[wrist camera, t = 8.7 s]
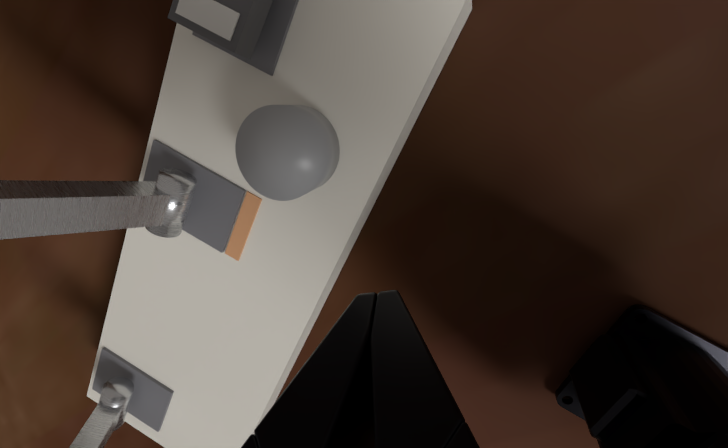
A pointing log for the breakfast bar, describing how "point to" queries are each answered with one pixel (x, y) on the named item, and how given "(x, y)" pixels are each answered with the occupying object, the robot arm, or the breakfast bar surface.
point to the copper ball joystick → (96, 205)
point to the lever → (106, 414)
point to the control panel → (260, 209)
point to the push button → (286, 150)
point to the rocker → (224, 21)
